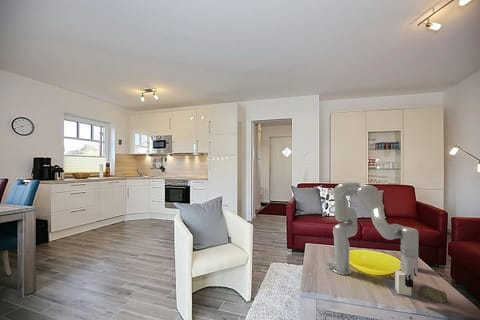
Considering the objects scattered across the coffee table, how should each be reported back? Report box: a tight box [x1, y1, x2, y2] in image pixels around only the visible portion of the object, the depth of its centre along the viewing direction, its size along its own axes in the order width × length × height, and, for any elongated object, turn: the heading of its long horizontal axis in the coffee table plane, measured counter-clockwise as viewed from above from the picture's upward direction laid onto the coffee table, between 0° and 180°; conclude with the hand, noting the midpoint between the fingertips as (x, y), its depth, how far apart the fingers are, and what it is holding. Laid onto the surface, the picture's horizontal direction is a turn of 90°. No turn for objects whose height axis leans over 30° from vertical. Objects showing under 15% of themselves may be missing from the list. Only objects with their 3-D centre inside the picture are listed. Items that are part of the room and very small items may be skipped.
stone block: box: [418, 284, 448, 304], centre depth 127 cm, size 6×12×5 cm, turn 34°
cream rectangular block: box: [394, 269, 412, 296], centre depth 132 cm, size 6×6×11 cm
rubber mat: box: [382, 278, 419, 300], centre depth 136 cm, size 12×20×1 cm, turn 163°
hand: (409, 286), depth 123 cm, fingers closed
